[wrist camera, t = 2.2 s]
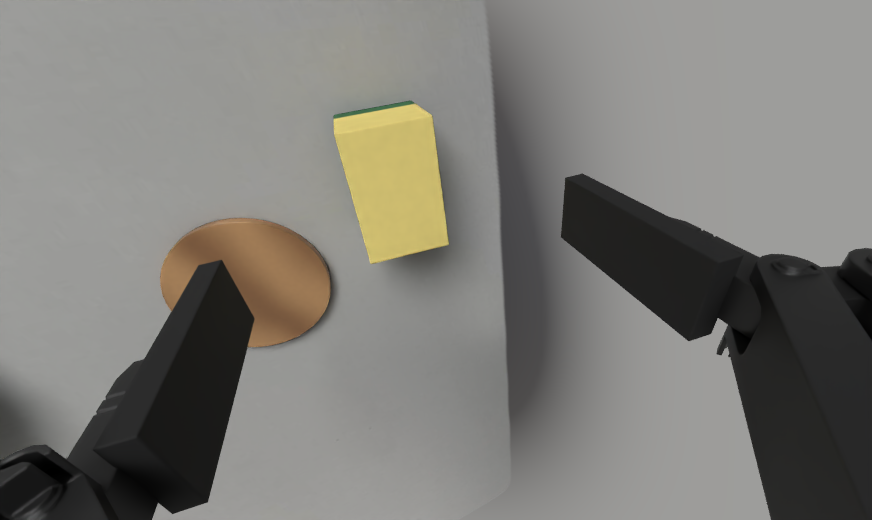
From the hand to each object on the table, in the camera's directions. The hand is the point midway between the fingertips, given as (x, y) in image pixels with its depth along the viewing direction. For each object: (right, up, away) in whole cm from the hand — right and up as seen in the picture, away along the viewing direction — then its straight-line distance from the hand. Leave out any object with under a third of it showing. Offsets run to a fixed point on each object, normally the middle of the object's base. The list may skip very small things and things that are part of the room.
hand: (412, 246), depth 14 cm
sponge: (-2, +5, +8) cm, 10 cm away
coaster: (-11, -2, +10) cm, 15 cm away
